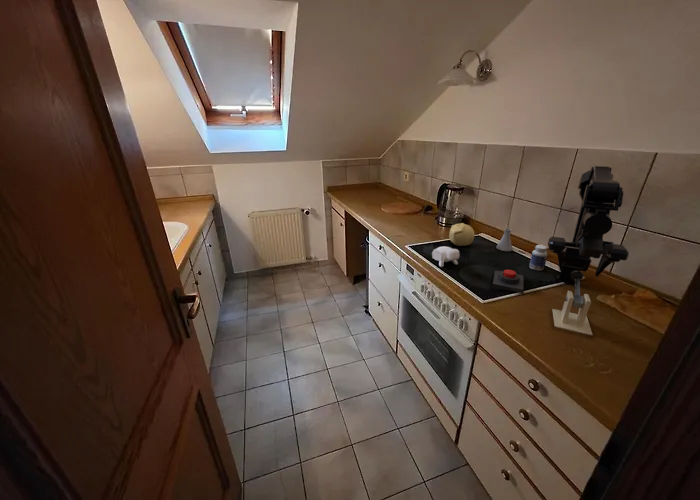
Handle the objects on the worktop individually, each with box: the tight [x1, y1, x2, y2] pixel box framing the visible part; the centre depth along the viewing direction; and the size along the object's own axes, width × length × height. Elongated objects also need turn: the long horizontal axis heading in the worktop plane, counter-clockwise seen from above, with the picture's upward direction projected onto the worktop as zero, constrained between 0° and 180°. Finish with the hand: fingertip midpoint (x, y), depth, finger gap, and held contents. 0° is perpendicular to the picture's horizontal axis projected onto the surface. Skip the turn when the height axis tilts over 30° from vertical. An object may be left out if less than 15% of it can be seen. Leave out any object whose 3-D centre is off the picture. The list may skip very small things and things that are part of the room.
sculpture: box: [448, 222, 475, 247], centre depth 150 cm, size 11×12×11 cm
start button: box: [503, 269, 517, 278], centre depth 111 cm, size 4×4×2 cm
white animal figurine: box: [431, 245, 461, 268], centre depth 130 cm, size 9×8×15 cm
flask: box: [496, 227, 513, 252], centre depth 142 cm, size 7×7×10 cm
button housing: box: [491, 270, 525, 294], centre depth 112 cm, size 12×10×4 cm
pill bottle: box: [529, 244, 548, 271], centre depth 123 cm, size 5×5×10 cm
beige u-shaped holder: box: [552, 290, 593, 336], centre depth 89 cm, size 10×9×10 cm
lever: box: [571, 270, 585, 309], centre depth 90 cm, size 13×3×3 cm, turn 152°
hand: (577, 273), depth 93 cm, fingers open, 9 cm apart
